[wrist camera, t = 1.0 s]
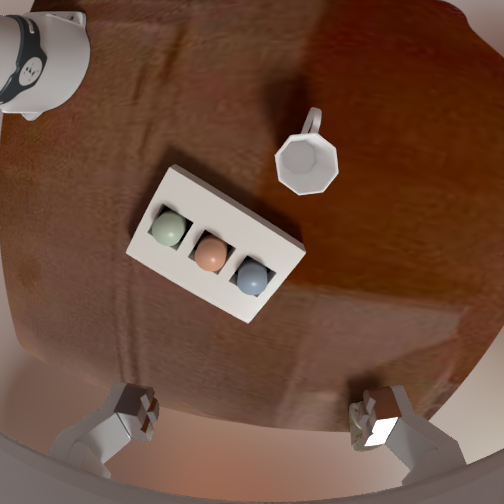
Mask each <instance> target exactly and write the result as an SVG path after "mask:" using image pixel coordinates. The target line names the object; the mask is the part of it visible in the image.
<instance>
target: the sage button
mask: <svg viewBox="0 0 504 504" xmlns="http://www.w3.org/2000/svg"><path fill="white" fill-rule="evenodd" d="M186 227H187V222H186V219H185V217H184V216H182V215H181V214H179V213H177V212H176V211H174V210H168V211H165V212H164V213H163V214H162V215H161V216H160V217H159V218H158V219H157V220H156V221H155V222H154V224H153V226H152V234H153V237H154V239H155V240H156V241H157V242H158V243H159V244H161V245H164V246H173V245H175V244H176V243H178V242H179V240H180V239H181V237H182V235H183V234H184V232H185V231H186Z"/></svg>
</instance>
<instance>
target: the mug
mask: <svg viewBox="0 0 504 504" xmlns="http://www.w3.org/2000/svg"><path fill="white" fill-rule="evenodd" d="M361 402H362V401H361ZM361 402H358V403H352V404H350V407H349V419H350V432H351V445H352V449H353V450H354V451H358V452H364V451H369V450H373V449H375V448H378V447H379V446H381V445H383V444H384V443H383V444H376V445H369V446H365V444H364V440H363V436H362V431H363V429H364V427H363V426H361V425H360V423H359V417H358V410H359V405H360V403H361Z"/></svg>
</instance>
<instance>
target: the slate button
mask: <svg viewBox="0 0 504 504" xmlns="http://www.w3.org/2000/svg"><path fill="white" fill-rule="evenodd" d="M237 285H238V288H239V289H240V290H241V291H242V292H243V293H245V294H247V295H258V294H260V293H262V292H263V291H264V290H265V289H266V287H267V269H266V267H265V265H263V264H261V263H260V262H258V261H256V260H255V259H249V260H246V261H244V262H243V263H242V264H241V265H240V267H239V271H238V279H237Z"/></svg>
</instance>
